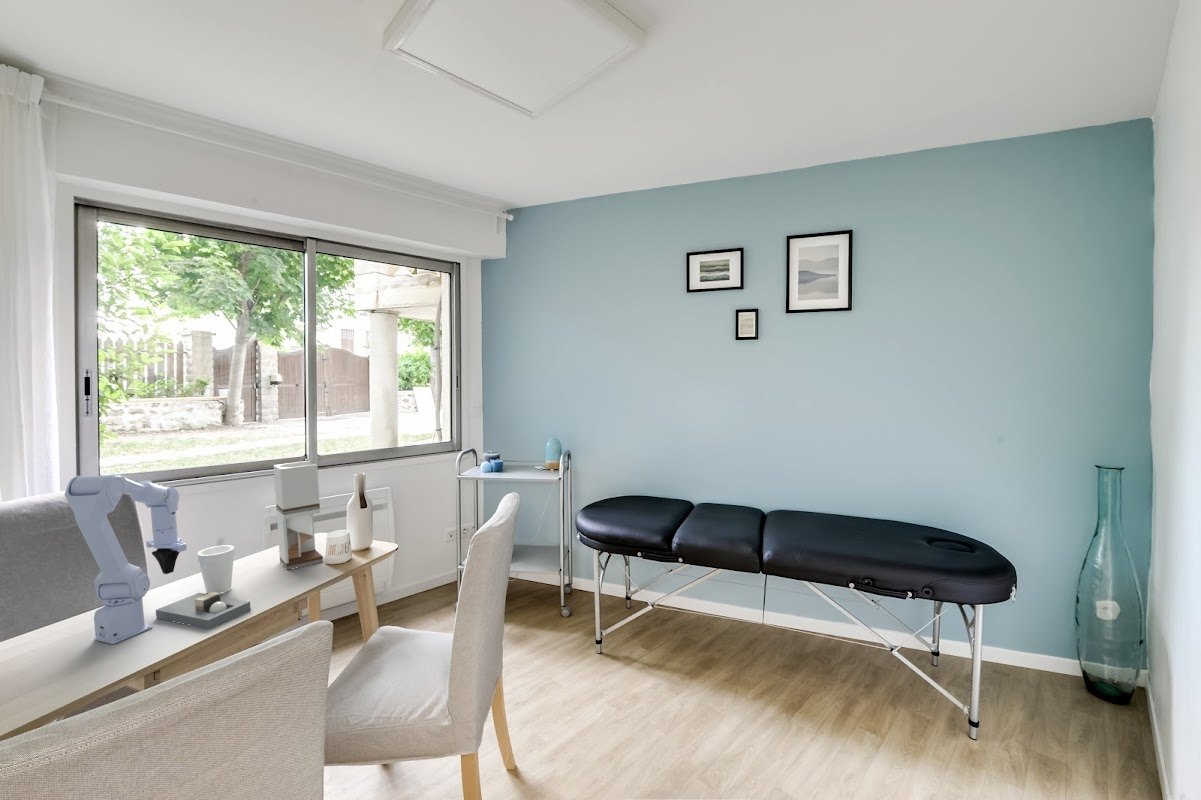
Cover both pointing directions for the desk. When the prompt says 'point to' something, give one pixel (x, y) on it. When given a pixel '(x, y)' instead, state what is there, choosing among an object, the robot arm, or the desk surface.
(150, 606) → the desk surface
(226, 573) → the foam cup
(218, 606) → the ball
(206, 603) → the cream rectangular block
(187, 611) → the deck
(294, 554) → the white coffee grinder
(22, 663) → the desk surface
